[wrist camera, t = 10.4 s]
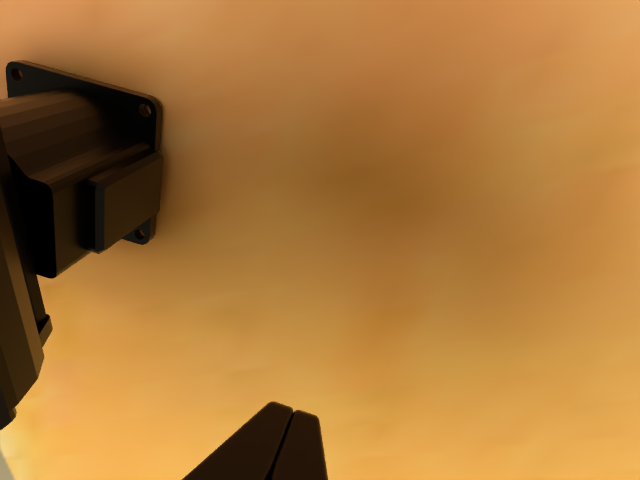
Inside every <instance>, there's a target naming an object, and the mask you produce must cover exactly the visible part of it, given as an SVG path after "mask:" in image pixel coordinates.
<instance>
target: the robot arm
mask: <svg viewBox="0 0 640 480" xmlns="http://www.w3.org/2000/svg"><path fill="white" fill-rule="evenodd" d="M19 70H20V71H21V72H22V75H23V79H22V77H21V76H20V74H19ZM6 80H7V91H8V98H7V99H2V100H0V430H2V429H3V428H4V427H6V426H7V425H8V424H9V423H11V422H12V421H13V419H14V418H15V417H16V413H17V412H16V409H15V406H16V405H17V404H18V403H19V402H20V401H21V400H22V398H23V397H24V396H25V394H26V393H27V392H28V391H29V389H30V388H31V387H32V385H33V384H34V383H35V382H36V380H37V379H38V376H39V373H40V370H41V366H42V363H43V360H44V353H43V349H42V347H43V346H44V344H45V342H46V340H47V339H48V337H49V335H50V333H51V332H52V329H53V328H52V323H51V319H50V316H49V315H48V314H46V313H45V309H44V304H43V300H42V296H41V292H40V288H39V284H38V279H37V275H41V276H44V277H47V278H55V277H56V276H58V275H59V274H60V273H62V272H63V271H65V270H66V269H68V268H69V267H70V266H72V265H73V264H75V263H76V262H77V261H79V260H80V259H82V258H83V257H85V256H86V255H87V254H89V253H90V252H93V253H97V254H99V253H102V252H103V251H105V250H106V249H108V248H109V247H111V246H112V245H113V244H115V243H116V242H117V241H119V240H120V239H124V240H127V241H131V242H134V243H137V244H142V245H143V244H147V243H148V242H149V241H150V240H151V239H152V238H153V237H154V234H155V220H156V213H157V212H159V210H160V197H161V182H162V166H163V157H162V155H161V153H160V137H161V120H162V108H161V105H160V103H159V102H158V100H157V99H156V98H154V97H152V96H149V95H145V94H142V93H138V92H135V91H131V90H127V89H124V88H120V87H117V86H113V85H109V84H106V83H102V82H99V81H95V80H91V79H88V78H84V77H81V76H77V75H74V74H70V73H66V72H63V71H59V70H56V69H52V68H48V67H45V66H41V65H38V64H34V63H30V62H27V61H20V60H19V61H12V62H10V63H8V65H7V66H6ZM145 104H146V105H148V106H149V108H150V110H151V114H150V115H149V114H147V113H146V111H145V109H144V106H145ZM139 229H140V230H142V231H143V232H144V234H145V236H144V235H142V234H141V233H140V232H139ZM36 274H37V275H36ZM182 480H328V476H327V469H326V462H325V455H324V449H323V442H322V435H321V428H320V422H319V419H318V417H317V416H315V415H313V414H310V413H307V412H304V411H301V410H296V411H295V412H294V413H293V409H292V408H291V407H289V406H286V405H283V404H280V403H277V402H270V403H268V404H267V405H266V406H264V407H263V408H262V409H261V410H260V411H259V412H258V413H257V414H255V415H254V416H253V417H252V418H251V419H250V420H249V421H247V422H246V423H245V424H244V425H243V426H242V427H241V428H240V429H238V430H237V431H236V432H235V433H234V434H233V435H232V436H231V437H229V438H228V439H227V440H226V441H225V442H224V443H223V444H222V445H220V446H219V447H218V448H217V449H216V450H215V451H214V452H213V453H211V454H210V455H209V456H208V457H207V458H206V459H205V460H204V461H202V462H201V463H200V464H199V465H198V466H197V467H196V468H194V469H193V470H192V471H191V472H190V473H189V474H188V475H187V476H185V477H184V478H183V479H182Z"/></svg>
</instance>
